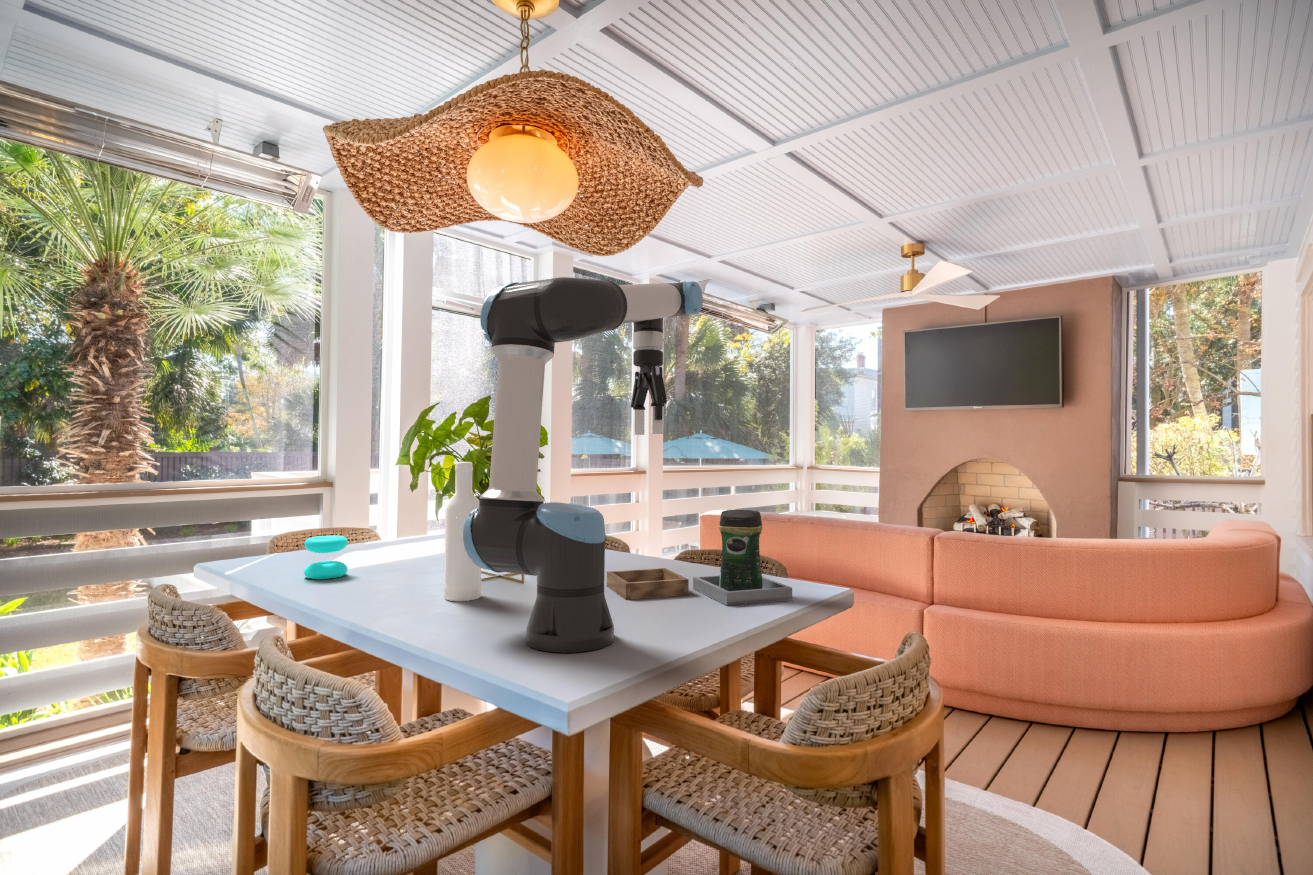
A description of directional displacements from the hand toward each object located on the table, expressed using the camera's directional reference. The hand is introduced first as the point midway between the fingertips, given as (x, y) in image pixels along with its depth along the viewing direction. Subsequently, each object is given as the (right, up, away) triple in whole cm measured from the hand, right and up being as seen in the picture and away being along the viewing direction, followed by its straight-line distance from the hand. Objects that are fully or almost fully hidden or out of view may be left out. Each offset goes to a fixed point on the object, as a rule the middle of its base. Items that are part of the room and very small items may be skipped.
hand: (647, 434), depth 170 cm
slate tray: (+22, -37, -16) cm, 45 cm away
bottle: (-41, -36, -21) cm, 58 cm away
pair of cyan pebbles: (-82, -37, +2) cm, 90 cm away
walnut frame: (0, -37, -12) cm, 39 cm away
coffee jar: (+21, -36, -16) cm, 45 cm away
